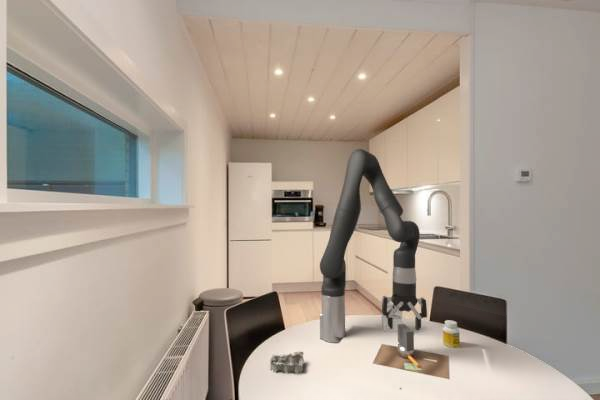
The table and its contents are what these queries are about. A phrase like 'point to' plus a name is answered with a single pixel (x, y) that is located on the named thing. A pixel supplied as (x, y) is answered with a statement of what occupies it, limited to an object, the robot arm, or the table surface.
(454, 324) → the supplement bottle
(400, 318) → the supplement box
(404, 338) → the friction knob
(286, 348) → the table surface
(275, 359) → the egg carton
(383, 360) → the brown flat board
